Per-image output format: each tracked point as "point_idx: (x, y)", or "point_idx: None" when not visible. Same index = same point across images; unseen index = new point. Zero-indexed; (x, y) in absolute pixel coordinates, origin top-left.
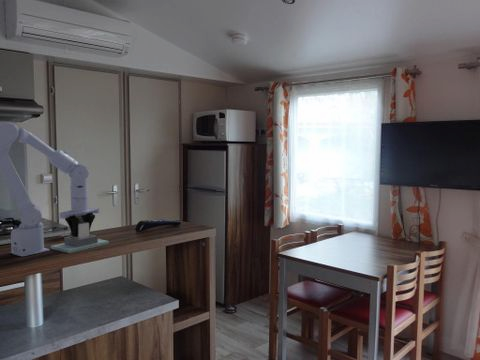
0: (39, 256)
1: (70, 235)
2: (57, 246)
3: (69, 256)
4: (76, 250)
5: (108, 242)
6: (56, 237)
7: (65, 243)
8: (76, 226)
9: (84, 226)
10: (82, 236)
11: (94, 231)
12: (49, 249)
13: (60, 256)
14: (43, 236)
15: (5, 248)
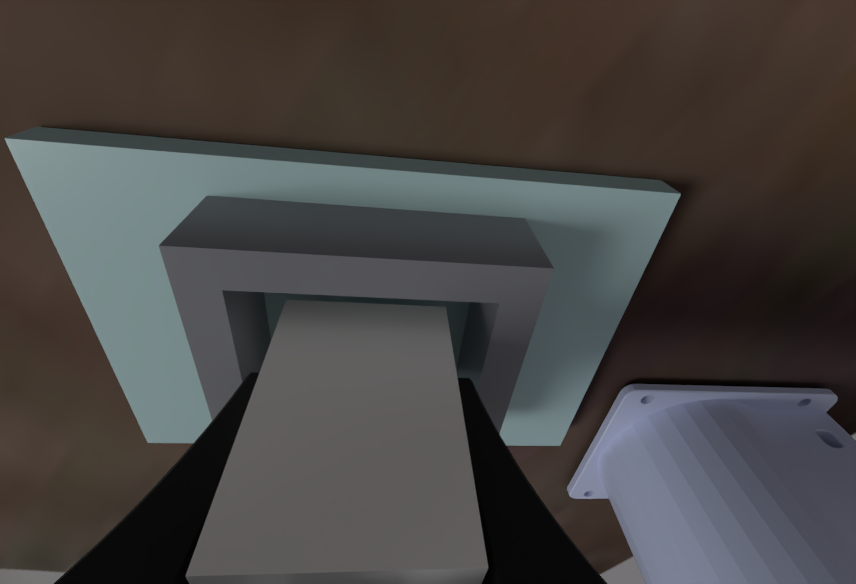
0: (806, 312)
1: None
2: (564, 398)
3: (822, 26)
4: (569, 176)
5: (28, 133)
6: None
7: None
8: (526, 531)
9: (337, 494)
10: (398, 344)
11: (10, 566)
12: (628, 392)
13: (816, 140)
14: (696, 535)
15: (621, 560)
